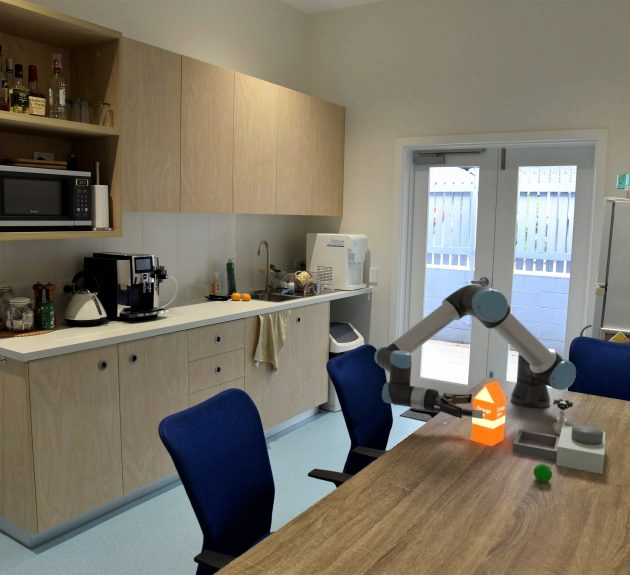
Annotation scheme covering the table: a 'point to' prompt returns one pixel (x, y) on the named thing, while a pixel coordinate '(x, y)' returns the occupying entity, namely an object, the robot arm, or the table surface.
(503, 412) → the orange juice
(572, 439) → the grey boxy fixture
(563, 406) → the valve
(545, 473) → the polyhedron
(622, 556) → the table surface
